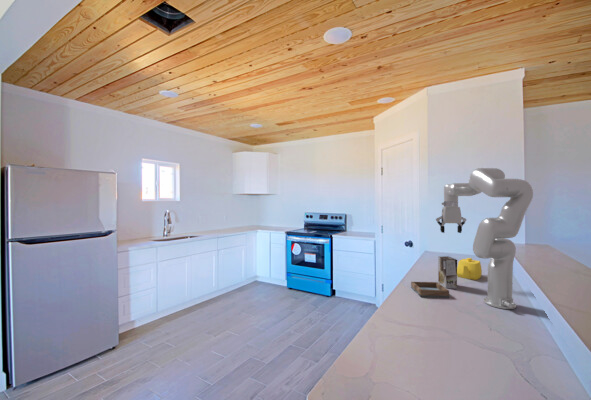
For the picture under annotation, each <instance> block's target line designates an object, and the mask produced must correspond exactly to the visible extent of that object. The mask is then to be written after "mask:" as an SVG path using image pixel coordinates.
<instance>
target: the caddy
mask: <svg viewBox="0 0 591 400" xmlns="http://www.w3.org/2000/svg"><path fill="white" fill-rule="evenodd" d="M410 288H411V289H412V291H414V292H415V293H416V294H417V295H418V296H419V297H420V298H443V299H444V298H448V299H449V298H450V290H449V289H448V288H445V287H443V286H442V285H440V284H439V283H438V282H437V281H411V282H410Z"/></svg>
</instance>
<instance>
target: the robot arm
mask: <svg viewBox="0 0 591 400" xmlns="http://www.w3.org/2000/svg"><path fill="white" fill-rule="evenodd" d="M482 193H483V194H485V195H486V196H488V197H490V198H510V199H509V200H508V201H506V202H505V203H504V205H502V208H501V210H500V213H499V215H498V216H497V217H486V218H483V220H480V223H479V224H478V227H477V229H476V234H475V235H474V240H473V244H472V251H473V255H475V256H476V257H477V258H479V259H484V260H486V259H490V260H489V262H488V266H487V296H486V297H484V298H483V302H484V303H485V304H486V305H488V306H489V307H490V306H491V307H493V308H498V309H502V310H503V309H504V310H513V309H516V308H517V303H515V302H514V298H513V277H514V275H513V271H514V270H513V269H514V260H515V257H516V253H517V252H516V251H517V250H516V249H517V248H516V244H515V243H514V242H513V241H512V240H510V239H512V238H515V237H516V236H517V235H518V234H519V231H520V229H521V226H522V224H523V220H524V218H525V214H526V212H527V210H528V208H529V207H530V204H531V202H532V201H533V198H534V197H533V196H534V189H533V187H532V185H531V184H530V183H529V182H528V181H526V180H524V179H521V178H520V179H519V178H506V174H505V173H504V171H503V170H501V169H500V168H494V167H485V168H484V167H480V168H479V167H478V168H475V169H473V171H471V173H470V175H469V179H468V183H467V182H460V183H459V182H457V183H456V182H454V183H451V184H448V183H447V184H444V185H443V202H441V206H443V207H442V210H441V216H439V217H436V218H435V221H436V222H437V224H438V225H439V226H440V229H439V230H440V232H441V233H443V234H445V224H457V233H459V234H461V233H462V232H463V231H462V230H463V228H462V227H463V226H464V225H465V224H466V221H467V218H465V217H463V216H462V212H461V211H462V210H461V207H460V206H459V197H472V196H475V195H479V194H482Z"/></svg>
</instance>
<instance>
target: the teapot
mask: <svg viewBox="0 0 591 400" xmlns="http://www.w3.org/2000/svg"><path fill="white" fill-rule="evenodd" d="M482 275H483V272H482V264H481V260H474V259H473V258H472V257H467V258H462V259H460V260H458V261H457V278H461V279H467V280H472V281H477V280H479V279H481V278H482Z"/></svg>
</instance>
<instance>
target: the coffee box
mask: <svg viewBox="0 0 591 400" xmlns="http://www.w3.org/2000/svg"><path fill="white" fill-rule="evenodd" d="M437 259H438V274H437V275H438V276H437V277H438V279H437V280H438V282H437V283H439V284H440V285H442V286H443V287H444V288H446V289H458V288H457V287H458V276H457V267H458V259H456V258H454V257H451V256H449V255H448V256H447V255H446V256H445V255H444V256H438V258H437Z"/></svg>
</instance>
